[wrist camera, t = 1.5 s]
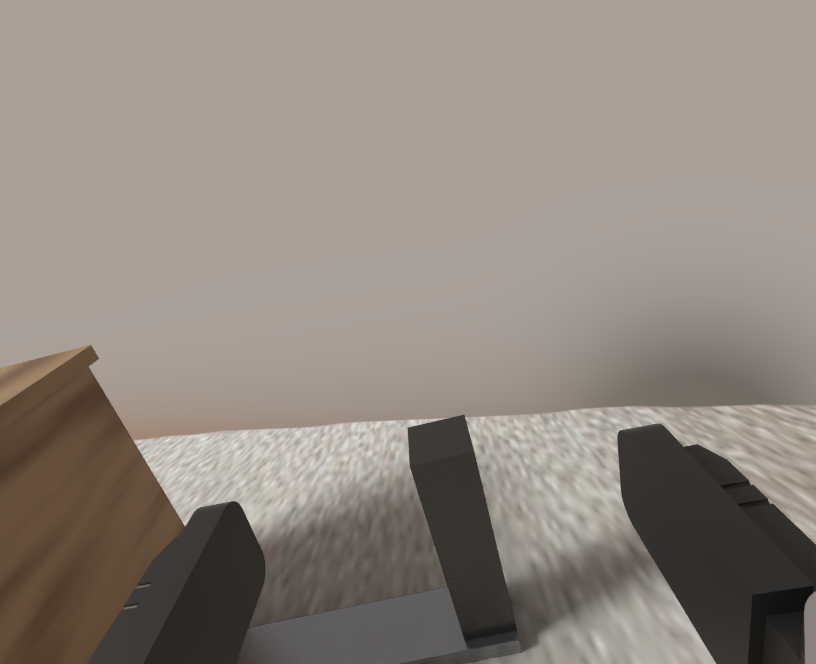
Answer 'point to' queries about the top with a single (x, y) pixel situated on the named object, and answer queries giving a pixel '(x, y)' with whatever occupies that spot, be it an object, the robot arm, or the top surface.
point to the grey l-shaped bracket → (426, 611)
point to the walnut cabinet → (70, 511)
